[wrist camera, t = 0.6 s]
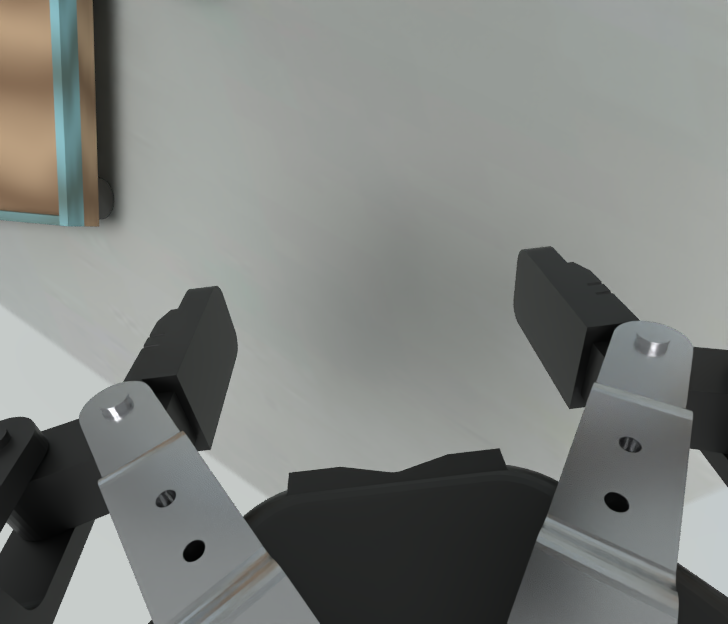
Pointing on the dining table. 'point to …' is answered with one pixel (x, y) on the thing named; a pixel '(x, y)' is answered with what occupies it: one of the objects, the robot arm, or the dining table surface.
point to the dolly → (49, 115)
